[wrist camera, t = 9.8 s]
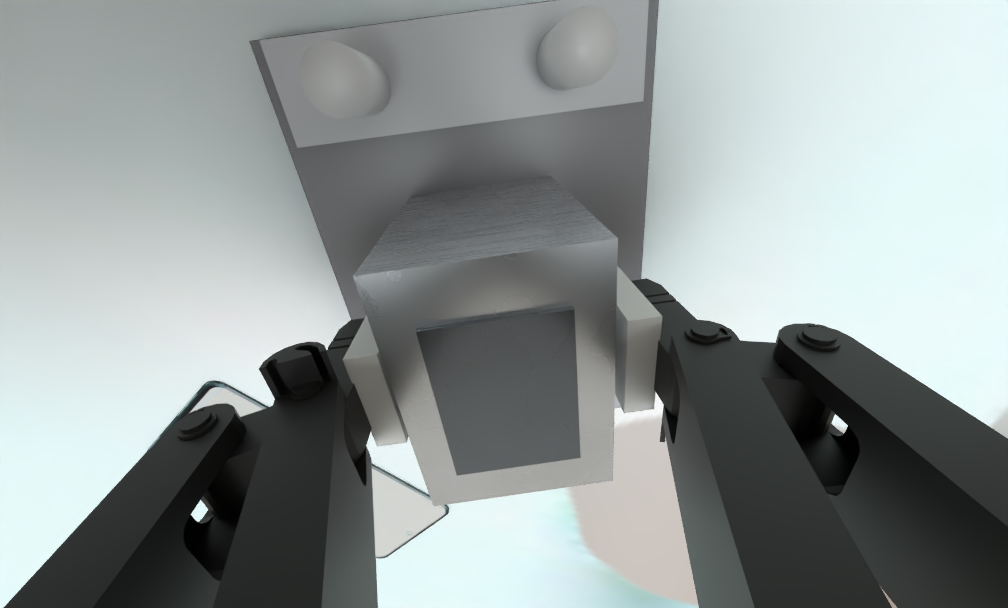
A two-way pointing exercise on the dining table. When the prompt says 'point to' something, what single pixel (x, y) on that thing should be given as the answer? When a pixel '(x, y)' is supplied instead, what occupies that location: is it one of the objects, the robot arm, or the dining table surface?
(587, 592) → the dining table surface
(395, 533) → the smartphone
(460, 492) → the block
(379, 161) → the grey knobbed plate
